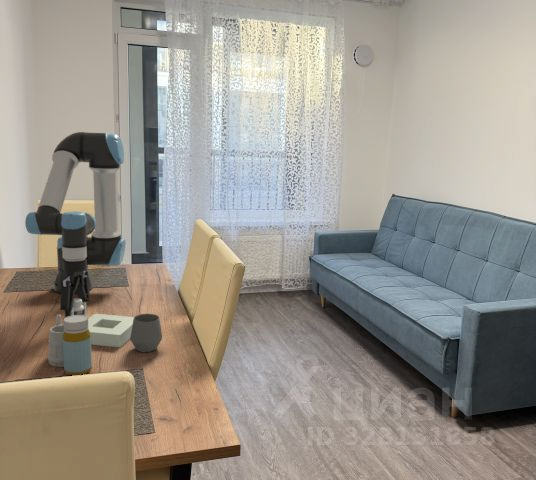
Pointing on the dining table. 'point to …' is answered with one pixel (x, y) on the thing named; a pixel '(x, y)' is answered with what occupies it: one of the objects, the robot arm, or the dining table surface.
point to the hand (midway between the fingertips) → (76, 324)
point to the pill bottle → (78, 307)
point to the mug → (56, 344)
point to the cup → (146, 332)
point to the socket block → (110, 329)
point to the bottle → (77, 345)
